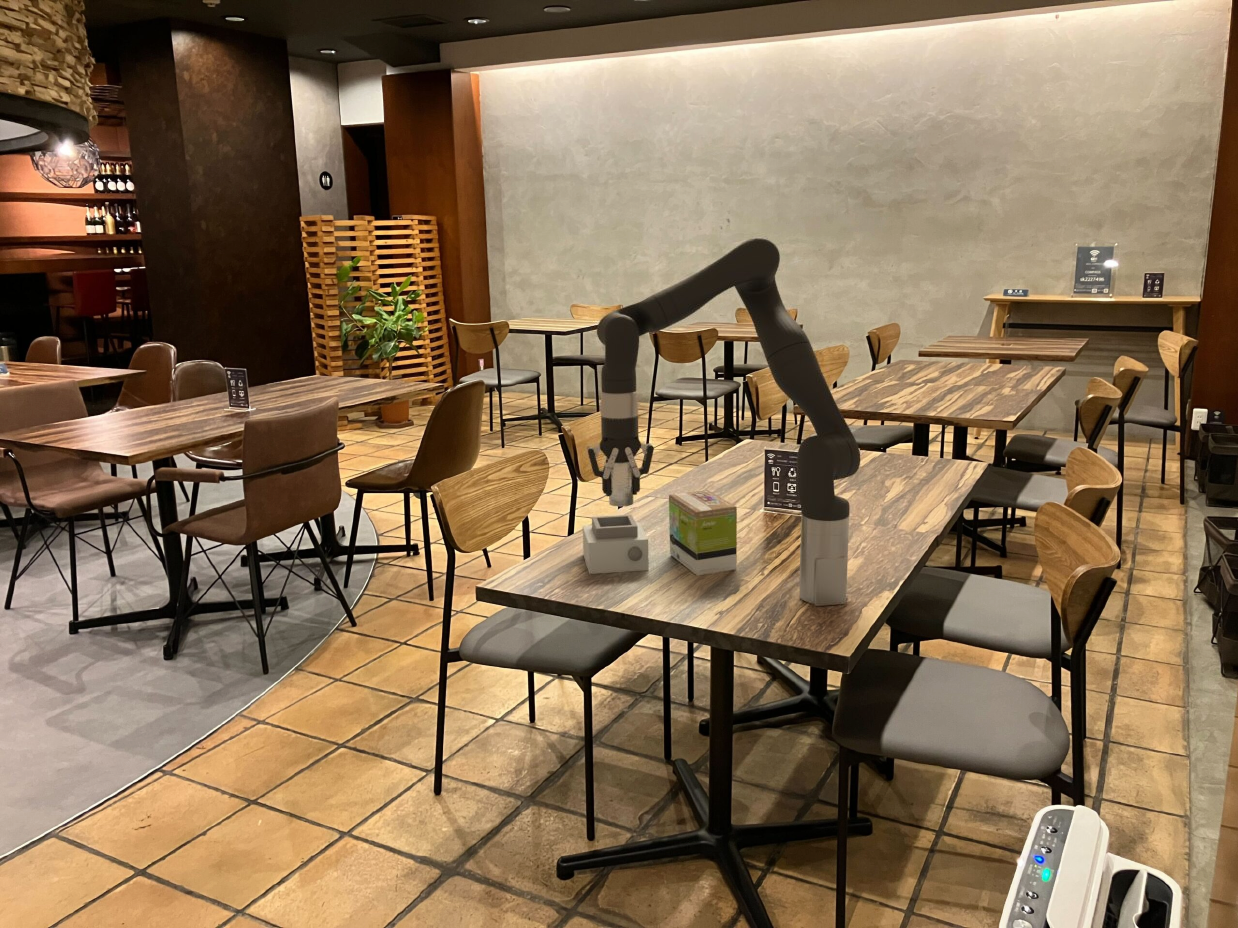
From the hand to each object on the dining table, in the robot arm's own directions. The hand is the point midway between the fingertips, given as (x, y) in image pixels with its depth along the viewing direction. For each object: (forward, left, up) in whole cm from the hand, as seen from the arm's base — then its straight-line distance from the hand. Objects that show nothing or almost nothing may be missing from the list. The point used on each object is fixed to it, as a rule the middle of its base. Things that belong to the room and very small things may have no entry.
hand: (621, 494), depth 200 cm
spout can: (0, 0, -2) cm, 2 cm away
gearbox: (+13, 0, -19) cm, 23 cm away
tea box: (+9, -19, -19) cm, 29 cm away
